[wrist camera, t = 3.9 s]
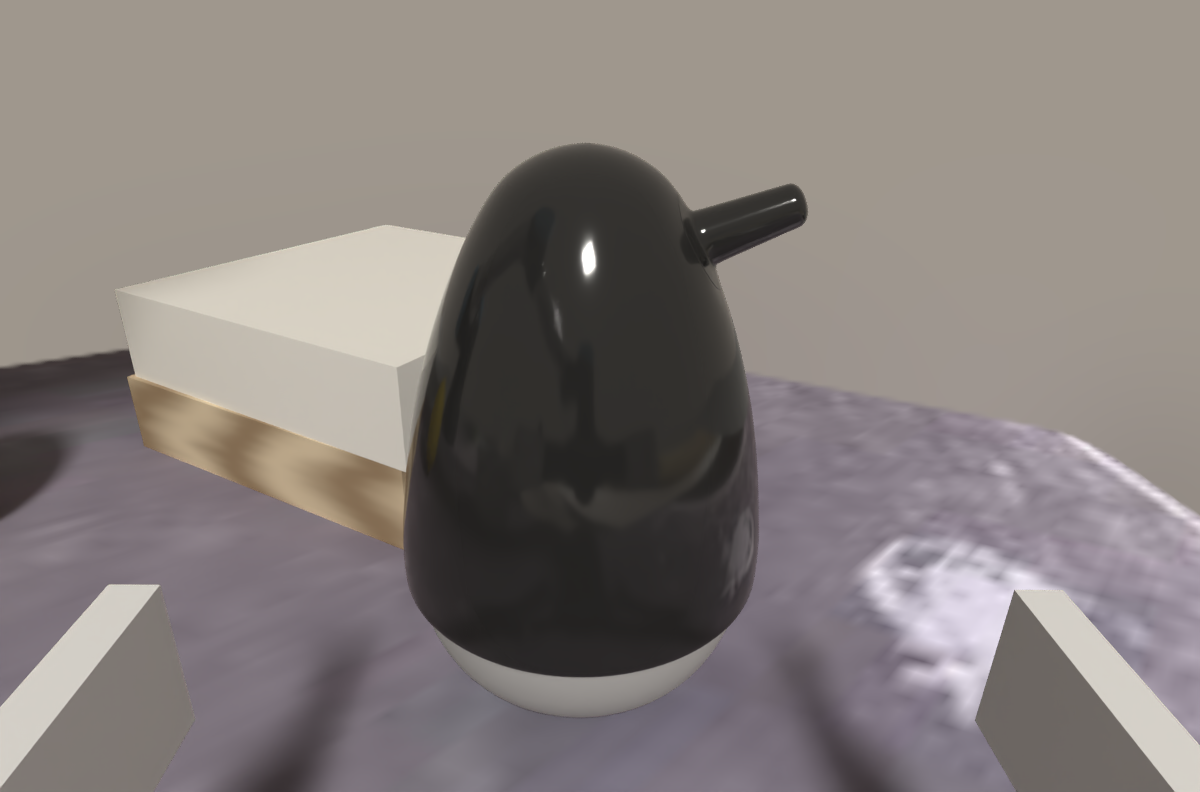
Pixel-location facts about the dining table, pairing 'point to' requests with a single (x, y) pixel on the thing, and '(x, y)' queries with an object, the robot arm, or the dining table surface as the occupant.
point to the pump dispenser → (587, 436)
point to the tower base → (273, 460)
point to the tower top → (302, 335)
